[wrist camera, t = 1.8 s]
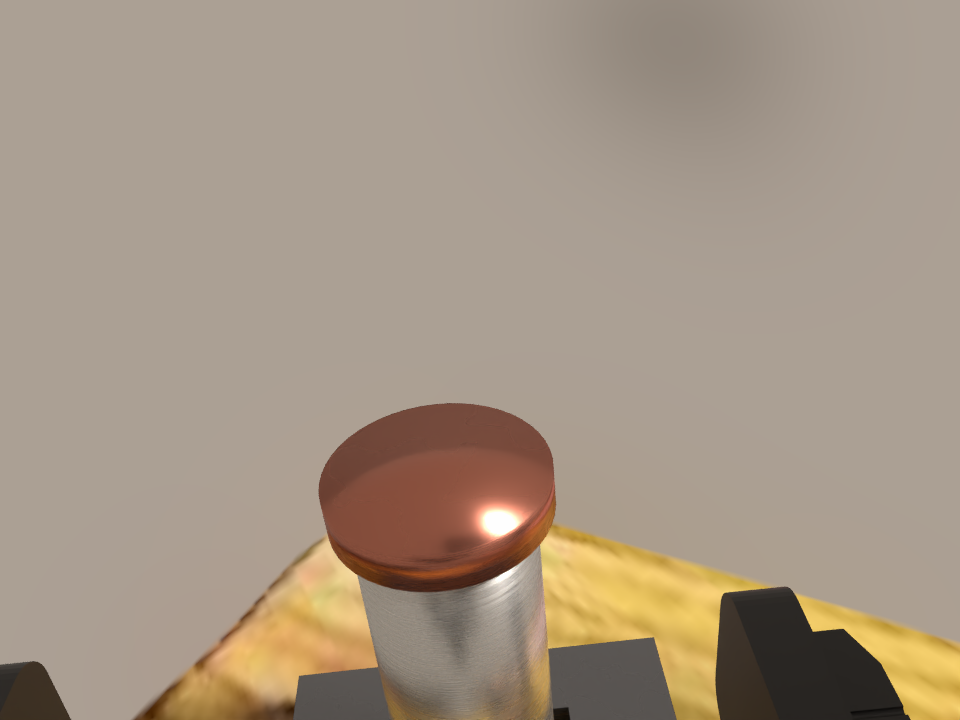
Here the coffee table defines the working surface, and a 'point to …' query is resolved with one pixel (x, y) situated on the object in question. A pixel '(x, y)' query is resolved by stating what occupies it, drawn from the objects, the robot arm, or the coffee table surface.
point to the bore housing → (574, 684)
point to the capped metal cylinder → (449, 557)
